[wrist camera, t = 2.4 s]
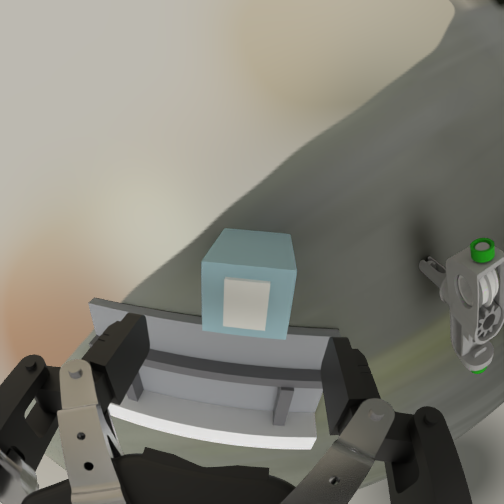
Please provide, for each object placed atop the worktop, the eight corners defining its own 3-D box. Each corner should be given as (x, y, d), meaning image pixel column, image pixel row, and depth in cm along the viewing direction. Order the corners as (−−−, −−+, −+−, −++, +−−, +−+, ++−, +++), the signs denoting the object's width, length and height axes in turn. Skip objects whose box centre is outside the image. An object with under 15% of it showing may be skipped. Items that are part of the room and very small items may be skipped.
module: (290, 234, 21) (297, 272, 14) (283, 287, 22) (286, 342, 15) (224, 228, 21) (200, 263, 14) (222, 281, 22) (201, 333, 16)
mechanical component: (420, 314, 22) (469, 384, 13) (399, 216, 19) (474, 262, 10) (444, 301, 21) (498, 363, 12) (427, 203, 19) (508, 240, 9)
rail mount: (338, 329, 23) (349, 363, 19) (304, 427, 28) (306, 457, 24) (94, 297, 24) (69, 320, 20) (123, 398, 30) (110, 422, 25)
